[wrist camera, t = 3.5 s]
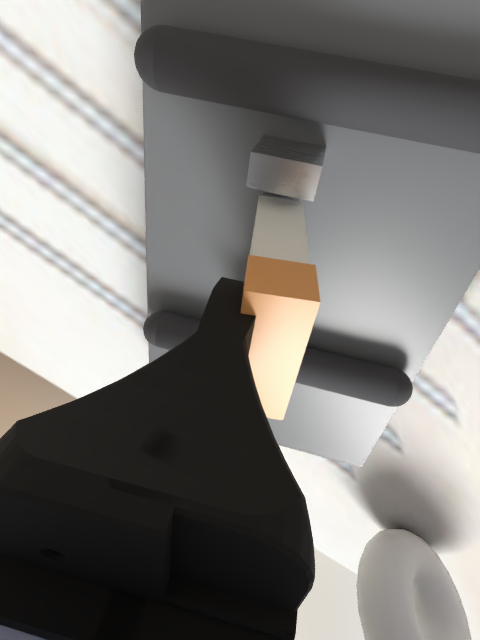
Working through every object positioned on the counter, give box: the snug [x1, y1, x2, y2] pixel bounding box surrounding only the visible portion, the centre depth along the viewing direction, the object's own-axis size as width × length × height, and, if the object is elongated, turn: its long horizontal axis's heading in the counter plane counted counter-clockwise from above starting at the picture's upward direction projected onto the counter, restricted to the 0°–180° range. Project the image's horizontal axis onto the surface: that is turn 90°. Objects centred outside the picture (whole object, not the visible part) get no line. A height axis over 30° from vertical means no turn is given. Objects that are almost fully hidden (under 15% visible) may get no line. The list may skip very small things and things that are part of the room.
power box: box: [134, 0, 480, 468], centre depth 16 cm, size 12×20×5 cm, turn 173°
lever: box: [241, 192, 320, 420], centre depth 12 cm, size 2×4×6 cm, turn 172°
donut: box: [357, 529, 471, 640], centre depth 26 cm, size 10×4×10 cm, turn 47°
